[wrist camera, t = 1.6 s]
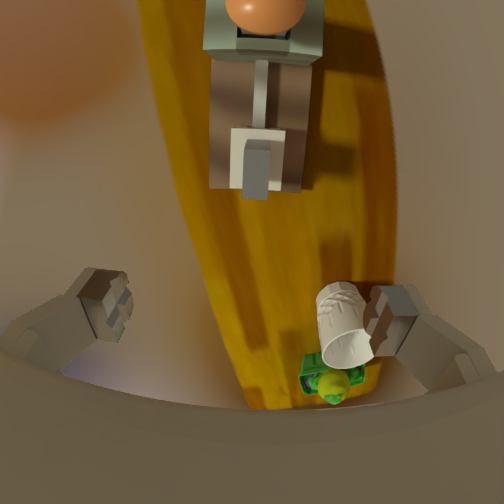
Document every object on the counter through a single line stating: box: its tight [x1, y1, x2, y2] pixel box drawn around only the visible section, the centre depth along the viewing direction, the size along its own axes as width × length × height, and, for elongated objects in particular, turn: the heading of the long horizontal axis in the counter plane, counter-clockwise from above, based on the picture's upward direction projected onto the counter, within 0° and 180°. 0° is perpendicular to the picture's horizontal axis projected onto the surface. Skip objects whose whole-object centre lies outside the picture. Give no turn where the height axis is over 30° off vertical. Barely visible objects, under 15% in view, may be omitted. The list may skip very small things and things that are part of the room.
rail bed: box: [203, 0, 324, 193], centre depth 22 cm, size 20×10×8 cm, turn 177°
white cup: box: [316, 281, 374, 369], centre depth 35 cm, size 8×8×10 cm
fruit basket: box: [299, 352, 365, 404], centre depth 42 cm, size 11×9×11 cm
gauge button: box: [226, 0, 305, 36], centre depth 13 cm, size 5×5×4 cm
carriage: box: [230, 126, 285, 200], centre depth 24 cm, size 6×5×8 cm
